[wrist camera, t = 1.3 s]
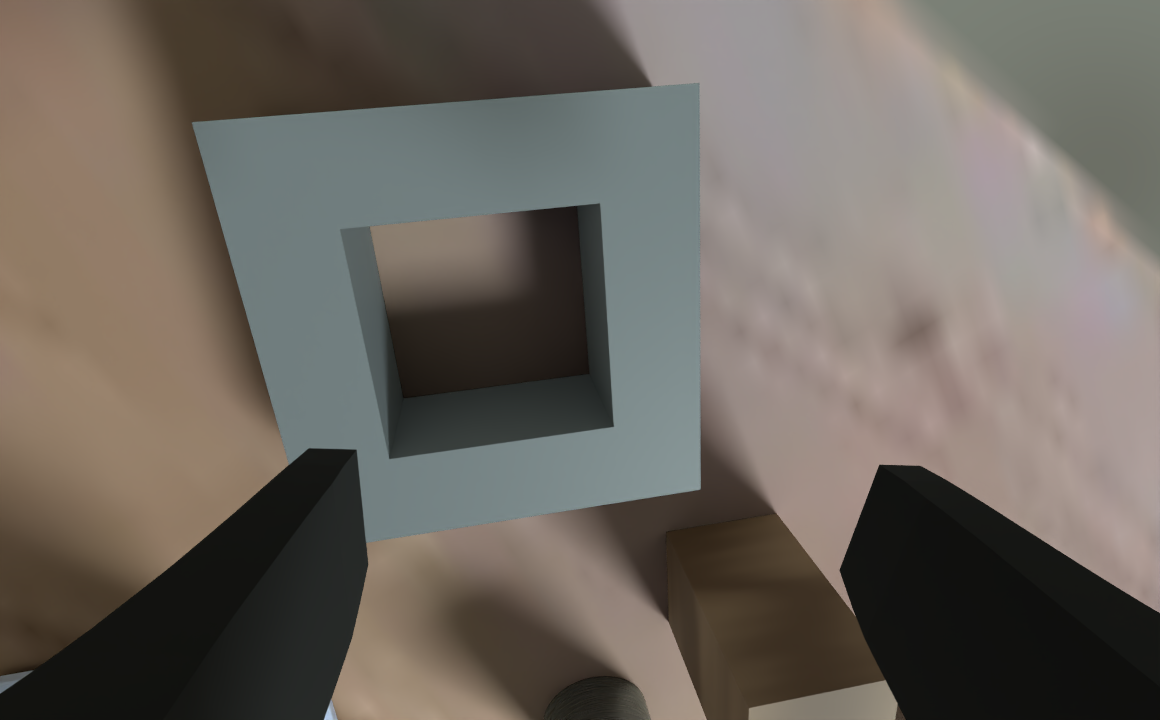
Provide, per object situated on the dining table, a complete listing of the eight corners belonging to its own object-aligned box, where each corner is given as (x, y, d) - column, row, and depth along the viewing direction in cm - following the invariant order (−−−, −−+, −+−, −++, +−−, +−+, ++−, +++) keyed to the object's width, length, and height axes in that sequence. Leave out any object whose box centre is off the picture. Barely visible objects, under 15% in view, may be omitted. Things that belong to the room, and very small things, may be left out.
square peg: (668, 621, 23) (745, 817, 17) (666, 531, 22) (748, 708, 15) (771, 602, 24) (884, 785, 17) (776, 513, 22) (901, 676, 16)
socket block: (340, 476, 19) (313, 550, 16) (250, 120, 15) (191, 121, 12) (663, 429, 20) (700, 489, 17) (654, 88, 16) (699, 82, 13)
